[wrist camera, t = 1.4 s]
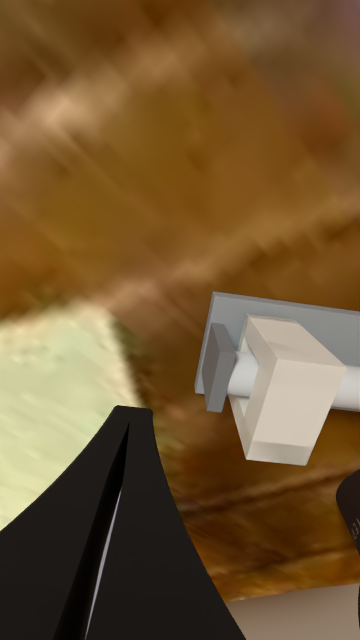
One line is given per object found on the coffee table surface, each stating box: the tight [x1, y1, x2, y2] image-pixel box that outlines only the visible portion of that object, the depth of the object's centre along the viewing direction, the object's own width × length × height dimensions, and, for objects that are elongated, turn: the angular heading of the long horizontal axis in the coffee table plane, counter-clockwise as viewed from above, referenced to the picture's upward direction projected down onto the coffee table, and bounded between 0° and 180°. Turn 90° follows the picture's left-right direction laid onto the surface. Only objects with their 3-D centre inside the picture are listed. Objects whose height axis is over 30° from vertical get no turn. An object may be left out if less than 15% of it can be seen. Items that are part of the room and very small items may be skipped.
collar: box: [228, 314, 347, 466], centre depth 15 cm, size 6×3×5 cm, turn 172°
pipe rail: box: [195, 291, 360, 412], centre depth 17 cm, size 7×16×5 cm, turn 82°
